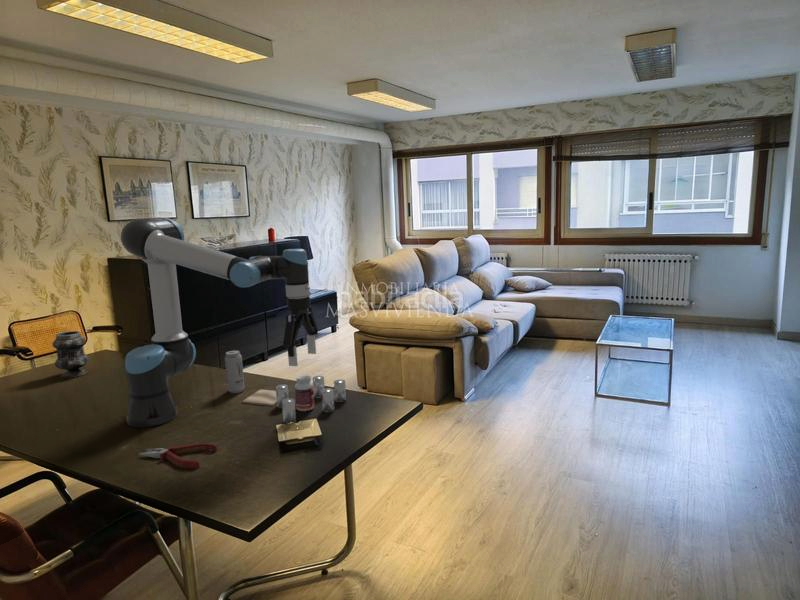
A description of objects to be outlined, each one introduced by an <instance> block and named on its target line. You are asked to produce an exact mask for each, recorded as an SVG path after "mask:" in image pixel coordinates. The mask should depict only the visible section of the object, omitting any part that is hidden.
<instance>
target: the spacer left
mask: <svg viewBox="0 0 800 600" xmlns="http://www.w3.org/2000/svg"><path fill="white" fill-rule="evenodd" d="M275 391H276V398H277V403H276V408H277V409H282V400H284V399H287V398H289V394H288V392H289V388H288V385H287V384H278V385H276V386H275Z"/></svg>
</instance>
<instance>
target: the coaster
mask: <svg viewBox="0 0 800 600" xmlns="http://www.w3.org/2000/svg"><path fill="white" fill-rule="evenodd" d="M289 394H290V391H288V395H289ZM241 404H246V405H247V404H248V405H259V406H268V407H274V405H277V398H276V390H270V389H259V390H257V391H256V392H254V393H252V394H251V395H250V396H248V397H246V398H245V399H243V400H242V401H241Z"/></svg>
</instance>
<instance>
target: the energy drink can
mask: <svg viewBox="0 0 800 600" xmlns="http://www.w3.org/2000/svg"><path fill="white" fill-rule="evenodd" d="M240 352H241V351H240V350H235V349H234V350H230V351H226V352H225V356H224V365H225V375H226V377H225V378H226V385H227V391H228V392H229V393H230V394H239V393H241V392H243V391H244V389H245V379H244V369H243V368H244V367H243V366H244V365H243V357H242V354H241V353H240Z"/></svg>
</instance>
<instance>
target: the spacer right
mask: <svg viewBox="0 0 800 600" xmlns="http://www.w3.org/2000/svg"><path fill="white" fill-rule="evenodd" d="M321 394H322V398H321V406H322V408H321V410H322V411H323V410H324V411H331V410H334V409H335V397H334V388H330V387H329V388H328V387H327V388H325V389H323V390H321ZM334 411H335V410H334Z"/></svg>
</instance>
